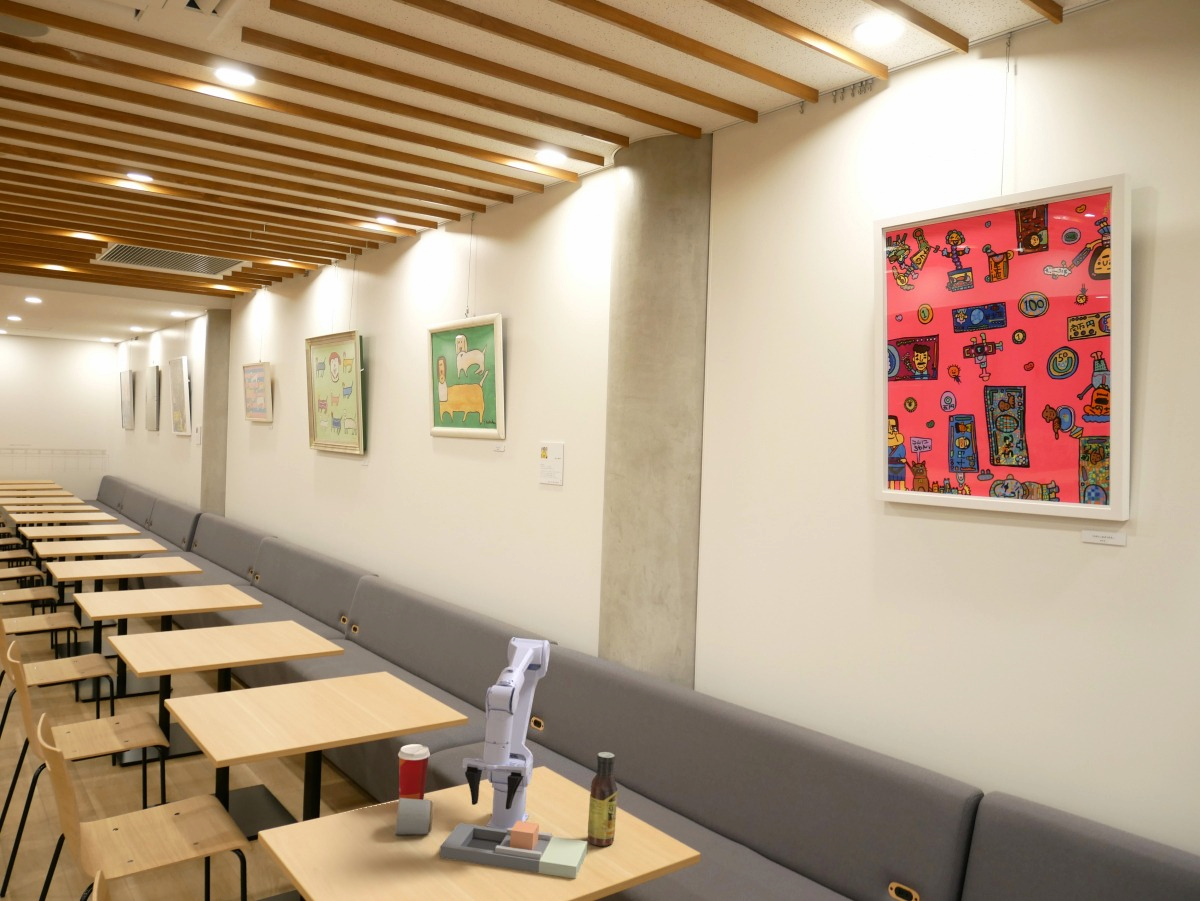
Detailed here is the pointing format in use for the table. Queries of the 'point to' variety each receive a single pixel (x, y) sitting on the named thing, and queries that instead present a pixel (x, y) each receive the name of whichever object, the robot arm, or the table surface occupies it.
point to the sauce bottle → (603, 802)
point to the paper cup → (413, 771)
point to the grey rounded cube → (414, 816)
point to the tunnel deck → (514, 851)
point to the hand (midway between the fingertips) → (491, 806)
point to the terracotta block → (524, 835)
